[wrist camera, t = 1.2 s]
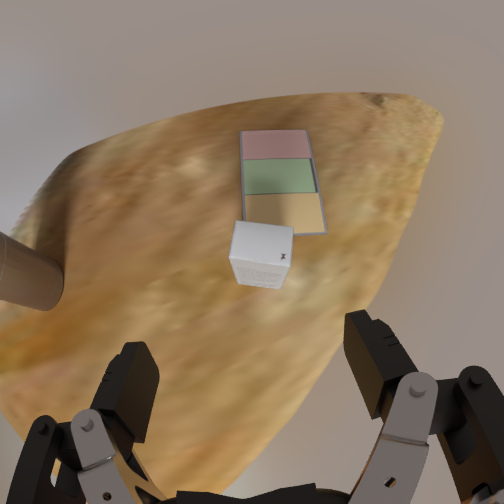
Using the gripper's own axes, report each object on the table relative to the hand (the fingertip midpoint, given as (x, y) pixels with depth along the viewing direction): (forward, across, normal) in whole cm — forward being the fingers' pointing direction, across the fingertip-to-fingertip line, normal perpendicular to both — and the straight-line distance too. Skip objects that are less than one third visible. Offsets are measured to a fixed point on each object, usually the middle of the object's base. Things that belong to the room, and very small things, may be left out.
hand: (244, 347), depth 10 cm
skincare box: (+26, -1, +10) cm, 28 cm away
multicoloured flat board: (+35, -6, -1) cm, 36 cm away
